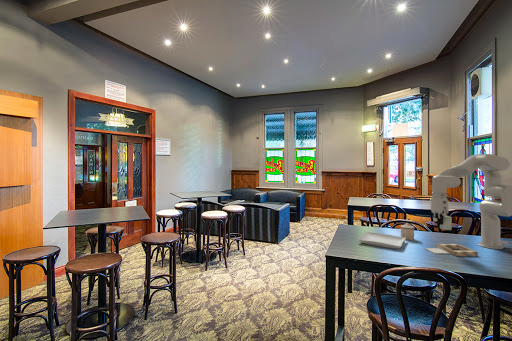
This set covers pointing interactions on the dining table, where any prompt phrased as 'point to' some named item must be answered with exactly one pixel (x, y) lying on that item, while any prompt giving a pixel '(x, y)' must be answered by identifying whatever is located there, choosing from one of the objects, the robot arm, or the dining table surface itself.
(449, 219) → the jug
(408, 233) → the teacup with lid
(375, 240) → the square plate
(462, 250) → the stand
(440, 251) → the pad
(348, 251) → the dining table surface
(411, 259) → the dining table surface
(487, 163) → the robot arm
